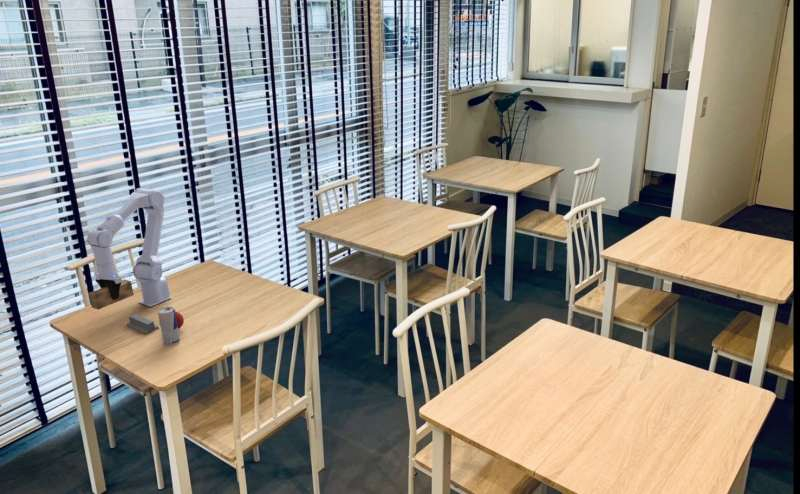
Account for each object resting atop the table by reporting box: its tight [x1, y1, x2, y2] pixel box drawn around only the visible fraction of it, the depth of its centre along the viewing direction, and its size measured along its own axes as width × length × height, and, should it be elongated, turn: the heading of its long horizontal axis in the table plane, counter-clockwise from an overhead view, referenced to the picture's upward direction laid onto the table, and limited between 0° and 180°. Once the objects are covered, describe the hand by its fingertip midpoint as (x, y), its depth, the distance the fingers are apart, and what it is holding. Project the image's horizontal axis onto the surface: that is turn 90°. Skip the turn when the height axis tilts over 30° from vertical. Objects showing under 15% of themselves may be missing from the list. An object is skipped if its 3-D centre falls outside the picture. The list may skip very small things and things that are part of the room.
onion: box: [175, 311, 185, 330], centre depth 221 cm, size 6×6×8 cm
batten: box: [88, 278, 135, 311], centre depth 228 cm, size 14×4×6 cm, turn 144°
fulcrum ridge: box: [126, 313, 159, 335], centre depth 225 cm, size 5×12×3 cm, turn 54°
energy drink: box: [157, 306, 181, 346], centre depth 212 cm, size 5×5×12 cm
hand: (112, 297), depth 228 cm, fingers closed on batten, 4 cm apart
